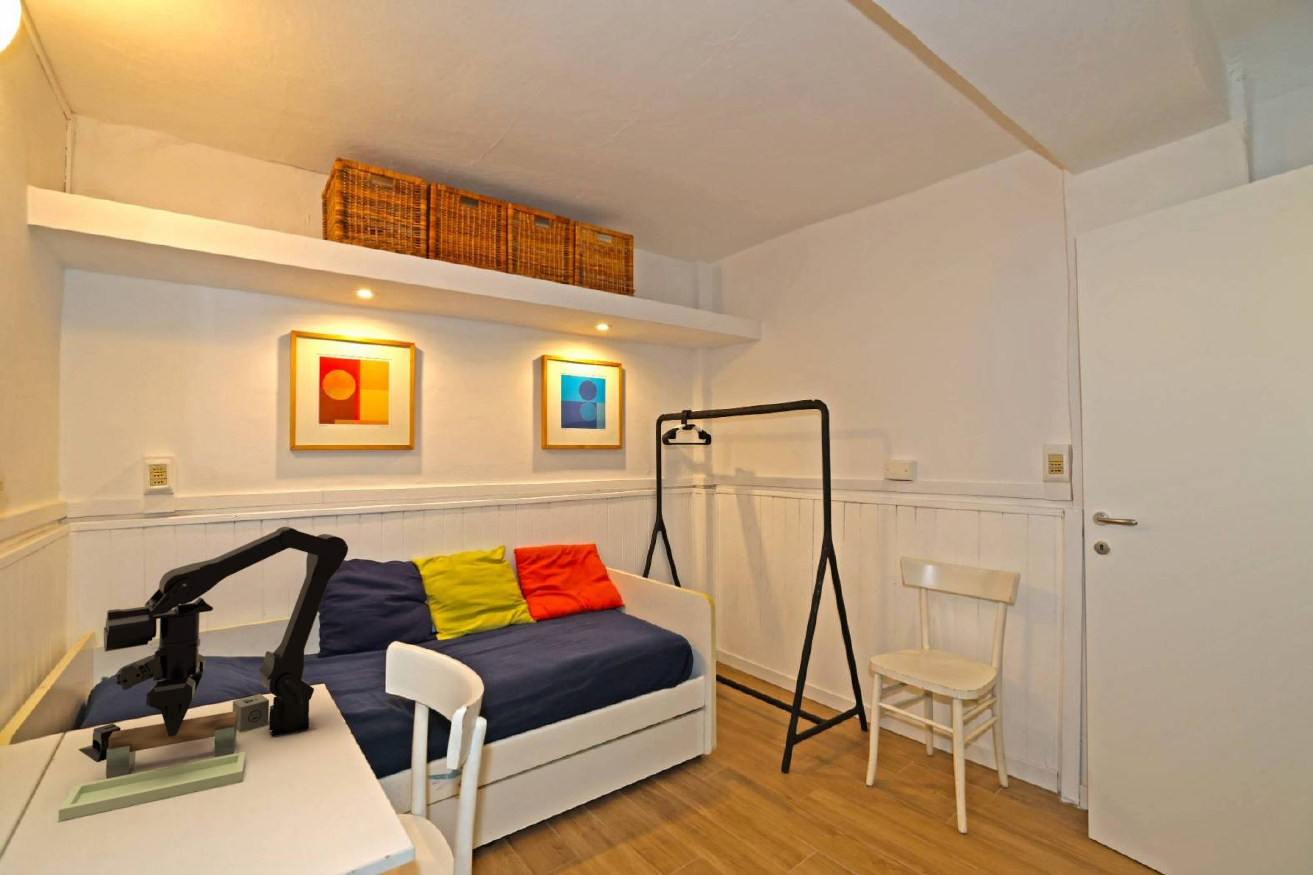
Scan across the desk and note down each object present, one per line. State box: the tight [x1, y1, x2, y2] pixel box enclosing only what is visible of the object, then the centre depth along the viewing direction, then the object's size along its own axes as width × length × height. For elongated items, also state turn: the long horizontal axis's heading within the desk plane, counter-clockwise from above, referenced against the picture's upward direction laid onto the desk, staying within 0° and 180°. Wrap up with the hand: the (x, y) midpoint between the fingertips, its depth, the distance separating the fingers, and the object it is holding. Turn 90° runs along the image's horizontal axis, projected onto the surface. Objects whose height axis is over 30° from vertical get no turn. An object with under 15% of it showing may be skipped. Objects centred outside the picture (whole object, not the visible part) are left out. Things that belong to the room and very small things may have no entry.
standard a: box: [213, 719, 238, 758], centre depth 115 cm, size 3×5×5 cm, turn 31°
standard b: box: [105, 744, 137, 779], centre depth 107 cm, size 3×5×5 cm, turn 31°
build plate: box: [78, 722, 122, 763], centre depth 114 cm, size 12×7×5 cm, turn 59°
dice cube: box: [232, 693, 270, 733], centre depth 126 cm, size 5×5×5 cm
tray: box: [58, 751, 247, 822], centre depth 102 cm, size 23×8×2 cm, turn 121°
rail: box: [108, 710, 237, 752], centre depth 111 cm, size 18×3×3 cm, turn 121°
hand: (176, 725), depth 111 cm, fingers open, 9 cm apart
